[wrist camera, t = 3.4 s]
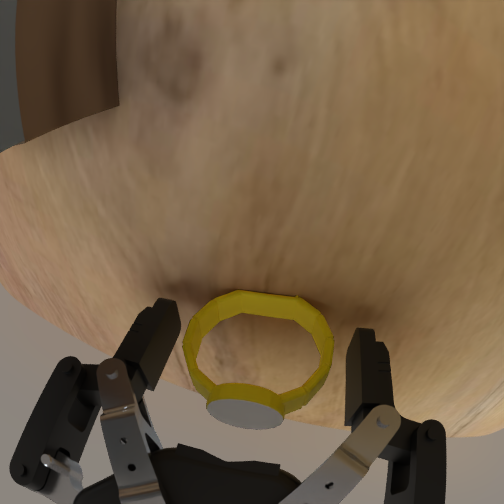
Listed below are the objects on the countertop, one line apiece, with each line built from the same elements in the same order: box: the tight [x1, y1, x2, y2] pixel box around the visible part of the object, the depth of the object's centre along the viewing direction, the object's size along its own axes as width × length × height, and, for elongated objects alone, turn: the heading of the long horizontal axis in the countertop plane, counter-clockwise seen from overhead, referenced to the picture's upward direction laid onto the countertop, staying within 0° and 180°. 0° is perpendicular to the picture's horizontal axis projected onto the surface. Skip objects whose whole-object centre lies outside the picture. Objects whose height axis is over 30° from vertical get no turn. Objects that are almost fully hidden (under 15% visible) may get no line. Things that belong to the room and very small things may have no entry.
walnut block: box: [15, 0, 119, 145], centre depth 6 cm, size 8×8×5 cm
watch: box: [182, 290, 335, 430], centre depth 11 cm, size 6×3×6 cm, turn 90°
